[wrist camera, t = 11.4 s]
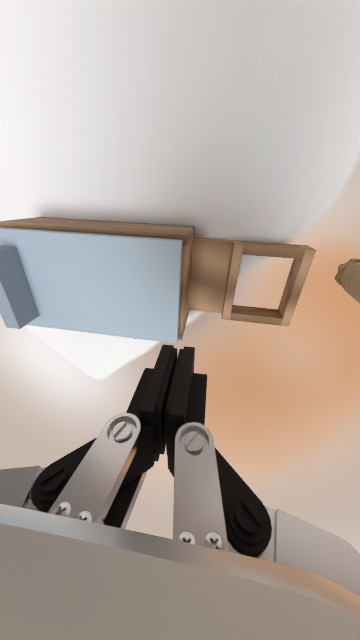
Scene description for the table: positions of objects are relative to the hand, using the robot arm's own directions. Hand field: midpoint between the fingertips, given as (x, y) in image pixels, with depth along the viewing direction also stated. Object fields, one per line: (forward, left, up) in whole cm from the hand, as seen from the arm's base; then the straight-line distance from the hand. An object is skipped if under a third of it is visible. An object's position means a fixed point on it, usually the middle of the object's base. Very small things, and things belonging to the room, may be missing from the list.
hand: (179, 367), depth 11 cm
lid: (+1, -11, -12) cm, 17 cm away
